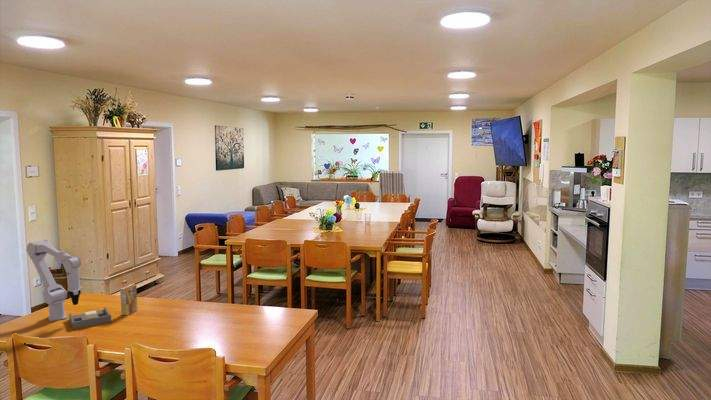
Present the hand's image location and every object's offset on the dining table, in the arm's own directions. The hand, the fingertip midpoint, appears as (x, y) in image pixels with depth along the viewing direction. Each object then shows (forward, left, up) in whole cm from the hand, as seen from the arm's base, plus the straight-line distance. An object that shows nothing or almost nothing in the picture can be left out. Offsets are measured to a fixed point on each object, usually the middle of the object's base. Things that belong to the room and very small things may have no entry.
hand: (75, 304), depth 264 cm
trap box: (+3, +6, -9) cm, 12 cm away
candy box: (+3, +26, -10) cm, 28 cm away
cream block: (+8, +6, -7) cm, 13 cm away
